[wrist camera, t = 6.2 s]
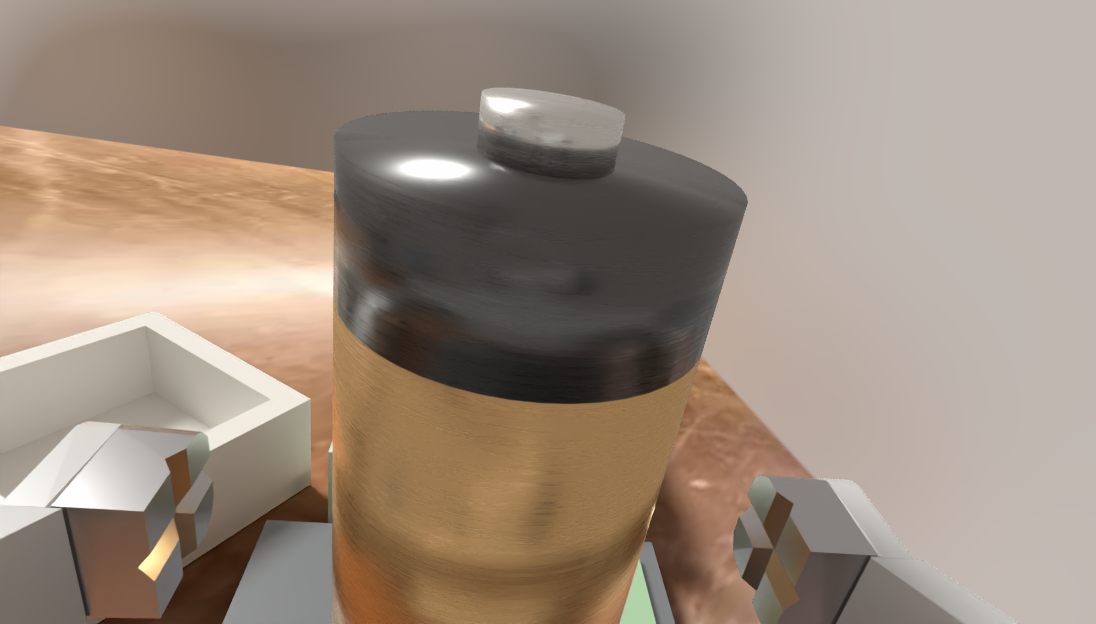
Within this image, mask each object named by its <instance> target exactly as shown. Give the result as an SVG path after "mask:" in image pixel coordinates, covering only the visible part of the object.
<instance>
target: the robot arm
mask: <svg viewBox="0 0 1096 624" xmlns="http://www.w3.org/2000/svg"><path fill="white" fill-rule="evenodd" d="M209 457H210V449H209V441H208V436H207V435H205V434H204V433H203V432H200V431H190V430H180V429H169V428H159V427H149V426H139V425H129V424H127V425H122V424H113V423H103V422H92V421H87V422H84V423H81V424H79V425H77V426H75V427H74V428H73V429H72V430H71V431H70V432H69V433H68V434H67V435H66V436H65V437H64V438H63V440H62V441H61V442H60V443H59V444H58V445H57V446H56V447H55V448H54V449H53V450H52V451H51V452H50V453H49V454H48V455H47V456H46V457H45V458H44V459H43V460H42V461H41V462H40V463H39V464H38V465H37V466H36V467H35V468H34V469H33V470H32V471H31V472H30V473H29V475H28V476H27V477H26V478H25V479H24V480H23V481H22V482H21V483H20V484H19V485H18V486H17V487H16V488H15V489H14V490H13V491H12V492H11V493H10V494H9V495H8V496H7V497H6V498H5V499H4V500H3V501H2V502H1V503H0V624H85V623H86V622H87V618H161V616H162V614H163V612H164V611H165V609H166V607H167V605H168V603H169V601H170V599H171V598H172V596H173V594H174V592H175V590H176V588H177V587H178V585H179V583H180V581H181V579H182V577H183V568H182V559H183V558H184V557H186V556H187V555H189V554H190V553H192V552H193V551H195V550H196V549H198V547H199V545H200V543H201V541H202V539H203V537H204V535H205V533H206V531H207V527H208V524H209V520H210V517H211V514H212V508H213V497H214V491H213V480H212V479H211V478H210V477H209V476H208V475H207V474H206V473H205V472H204V471H203V470H202V469H203V467H204V466H205V464H206V462H207V461H208V459H209ZM748 497H749V499H750V501H751V503H752V505H753V506H752V507H750V508H749V509H748V510H747V511H745V512H744V513H743V514H741V515H740V516H739V518H738V521H737V524H736V527H735V530H734V541H733V551H734V556H735V561H736V565H737V568H738V570H739V573H740V575H741V578H742V579H744V580H745V581H746V582H747V583H748V584H749V585H751V586H752V587H753V588H754V589H755V590H756V593H755V596H754V599H753V601H752V604H753V606H754V608H755V611H756V613H757V615H758V618H759V620H760V622H761V624H1019V623H1018V622H1016V621H1015V620H1013V619H1012V618H1010V617H1009V616H1007V615H1006V614H1004V613H1003V612H1001V611H999V610H998V609H996V608H995V607H993V606H992V605H990V604H989V603H987V602H986V601H984V600H983V599H981V598H980V597H978V596H977V595H975V594H974V593H972V592H971V591H969V590H968V589H966V588H965V587H963V586H962V585H960V584H958V583H957V582H956V581H954V580H953V579H951V578H950V577H948V576H947V575H945V574H944V573H942V572H941V571H939V570H937V569H936V568H934V567H933V566H931V565H930V564H928V563H927V562H925V561H924V560H916V559H913V558H912V556H911V555H910V554H909V552H908V551H907V550H906V548H905V547H904V546H903V544H902V543H901V542H900V540H899V539H898V538H897V536H896V535H895V534H894V532H893V531H892V530H891V528H890V527H889V526H888V524H887V523H886V522H885V520H884V519H883V518H882V516H881V515H880V514H879V512H878V511H877V509H876V508H875V507H874V505H873V504H872V503H871V501H870V500H869V499H868V497H867V496H866V495H865V493H864V492H863V491H862V489H861V488H860V487H859V486H858V485H857V484H855V483H854V482H852V481H851V480H840V479H821V478H820V479H808V478H794V477H780V476H766V475H759V476H758V477H757V478H756V479H755V480H754V481H753V482H752V485H751V487H750V490H749V492H748Z"/></svg>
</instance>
